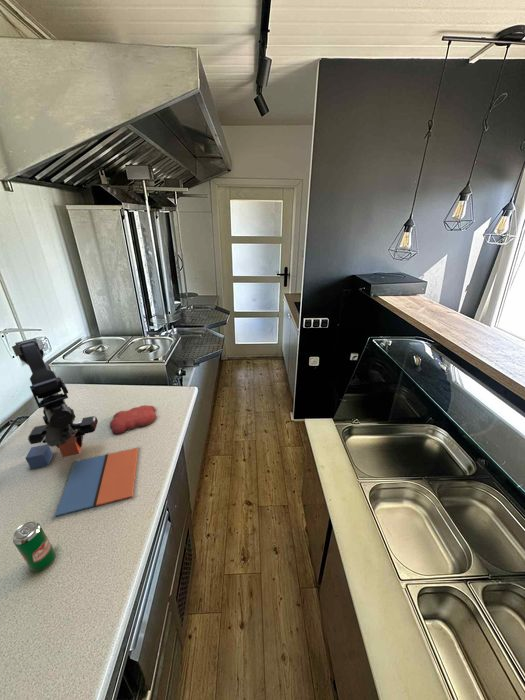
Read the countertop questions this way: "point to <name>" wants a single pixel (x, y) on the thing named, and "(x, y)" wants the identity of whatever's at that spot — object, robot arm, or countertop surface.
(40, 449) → the slate-blue block
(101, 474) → the sorting mat
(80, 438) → the robot arm
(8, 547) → the countertop surface
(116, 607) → the countertop surface
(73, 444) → the terracotta block
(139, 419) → the red lumpy blob
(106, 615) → the countertop surface
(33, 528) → the soda can
